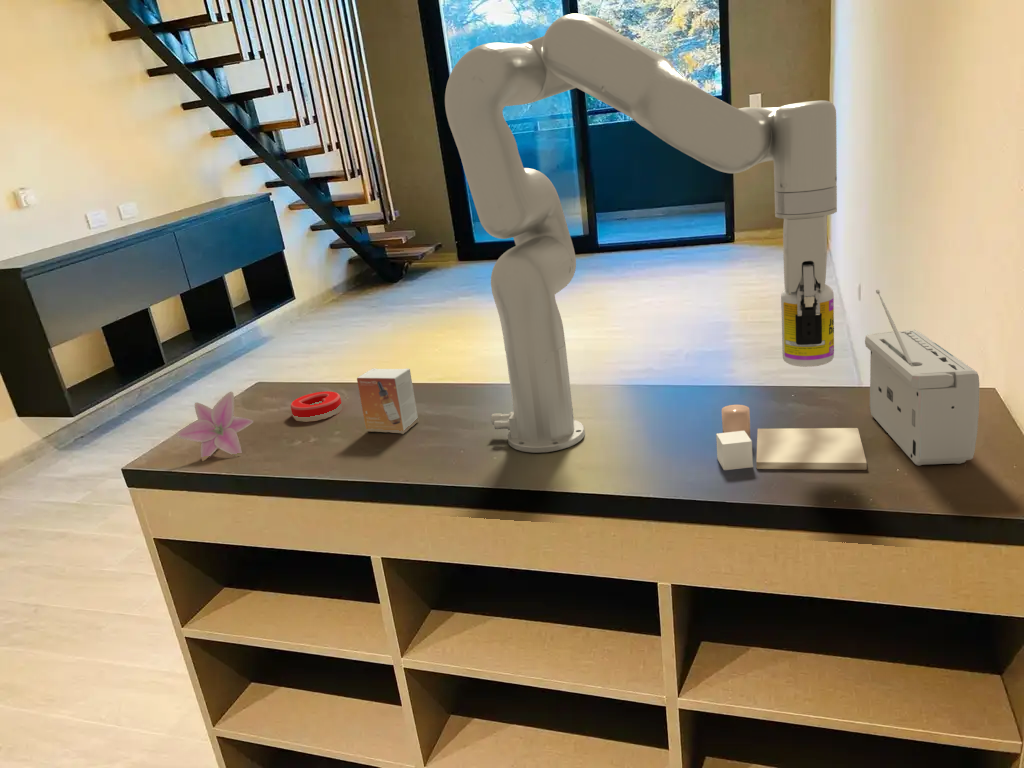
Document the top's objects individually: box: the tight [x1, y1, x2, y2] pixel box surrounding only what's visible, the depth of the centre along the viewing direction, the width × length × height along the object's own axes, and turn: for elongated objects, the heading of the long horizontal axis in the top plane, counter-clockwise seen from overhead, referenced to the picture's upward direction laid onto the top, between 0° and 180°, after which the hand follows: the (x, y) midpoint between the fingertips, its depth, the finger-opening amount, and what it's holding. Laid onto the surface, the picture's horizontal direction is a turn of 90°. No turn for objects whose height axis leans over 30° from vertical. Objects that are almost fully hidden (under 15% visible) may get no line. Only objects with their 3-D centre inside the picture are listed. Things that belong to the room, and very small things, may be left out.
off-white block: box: [715, 431, 754, 471], centre depth 114 cm, size 4×4×4 cm
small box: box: [356, 368, 419, 431], centre depth 144 cm, size 8×6×10 cm
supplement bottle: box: [780, 265, 835, 368], centre depth 109 cm, size 7×7×13 cm
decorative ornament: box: [290, 390, 342, 417], centre depth 159 cm, size 10×10×3 cm
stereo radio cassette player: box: [864, 289, 980, 467], centre depth 112 cm, size 21×8×20 cm, turn 175°
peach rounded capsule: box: [721, 404, 752, 440], centre depth 121 cm, size 4×4×5 cm
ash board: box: [755, 427, 868, 471], centre depth 115 cm, size 14×12×1 cm
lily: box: [175, 391, 254, 458], centre depth 145 cm, size 12×12×10 cm
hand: (807, 334), depth 110 cm, fingers closed on supplement bottle, 6 cm apart
